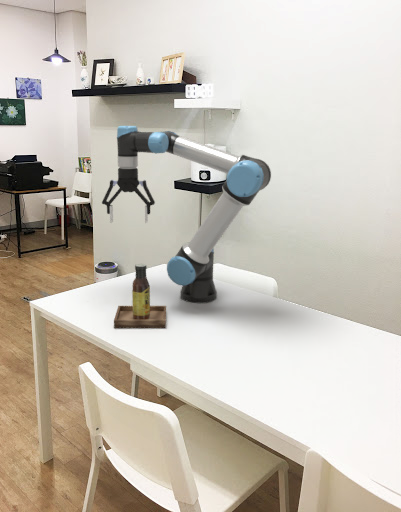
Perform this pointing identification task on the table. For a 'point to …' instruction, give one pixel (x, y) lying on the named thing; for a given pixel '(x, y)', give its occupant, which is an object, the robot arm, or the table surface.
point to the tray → (127, 321)
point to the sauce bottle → (141, 294)
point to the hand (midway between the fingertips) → (129, 222)
